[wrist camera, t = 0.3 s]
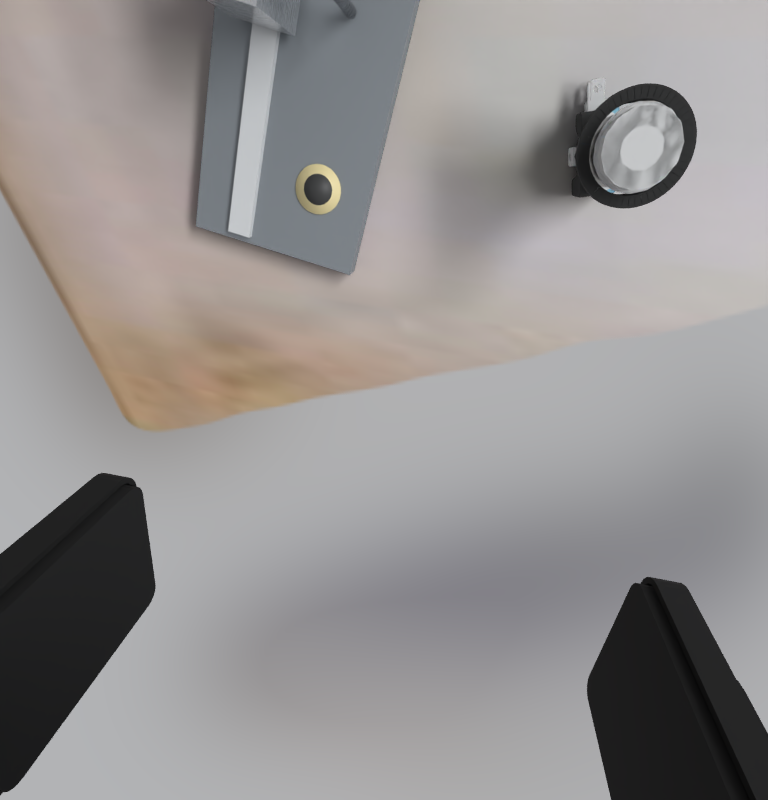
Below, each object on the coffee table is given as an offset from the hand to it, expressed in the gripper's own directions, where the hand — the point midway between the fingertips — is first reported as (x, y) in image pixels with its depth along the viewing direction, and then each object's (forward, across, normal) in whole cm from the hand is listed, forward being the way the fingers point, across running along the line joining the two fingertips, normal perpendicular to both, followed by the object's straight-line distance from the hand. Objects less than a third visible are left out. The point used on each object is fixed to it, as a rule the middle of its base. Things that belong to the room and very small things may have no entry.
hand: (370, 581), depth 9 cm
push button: (+30, -8, -10) cm, 33 cm away
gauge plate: (+30, +10, -14) cm, 35 cm away
